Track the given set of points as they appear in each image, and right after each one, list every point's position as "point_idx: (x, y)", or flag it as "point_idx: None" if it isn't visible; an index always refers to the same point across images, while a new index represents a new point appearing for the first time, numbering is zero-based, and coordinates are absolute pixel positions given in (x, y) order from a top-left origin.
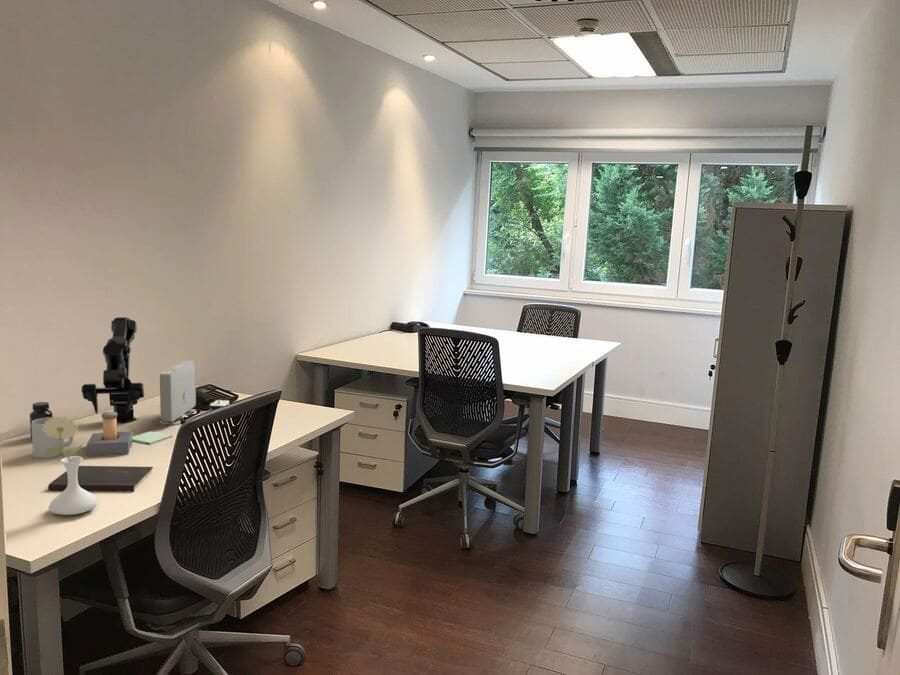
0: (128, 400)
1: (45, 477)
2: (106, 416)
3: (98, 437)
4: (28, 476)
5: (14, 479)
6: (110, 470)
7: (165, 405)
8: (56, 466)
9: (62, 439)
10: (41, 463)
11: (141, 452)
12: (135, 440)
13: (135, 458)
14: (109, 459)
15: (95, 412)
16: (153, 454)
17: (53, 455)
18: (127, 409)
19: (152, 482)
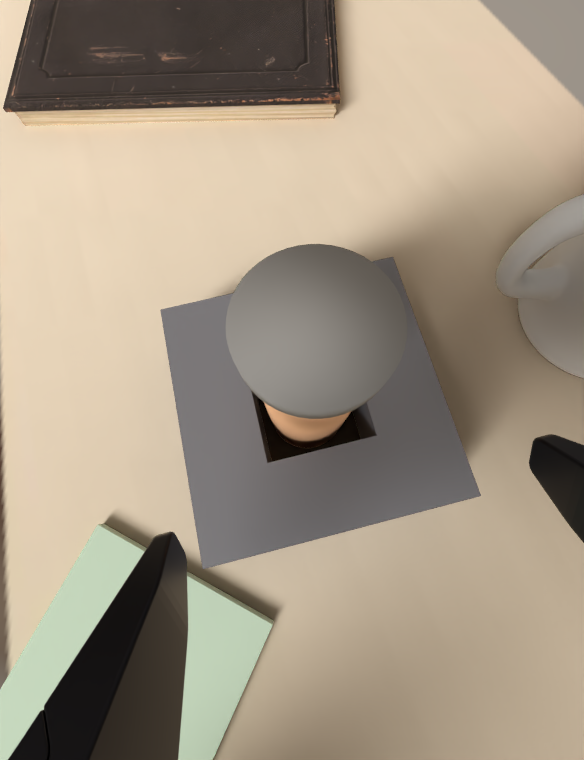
0: (75, 733)
1: (407, 63)
2: (315, 250)
3: (386, 388)
4: (476, 67)
5: (505, 42)
6: (165, 61)
7: None
8: (438, 164)
9: (575, 284)
10: (526, 192)
11: (123, 370)
12: (211, 587)
13: (131, 278)
14: (249, 258)
15: (546, 435)
16: (54, 341)
17: (535, 264)
18: (146, 550)
19: (8, 46)
